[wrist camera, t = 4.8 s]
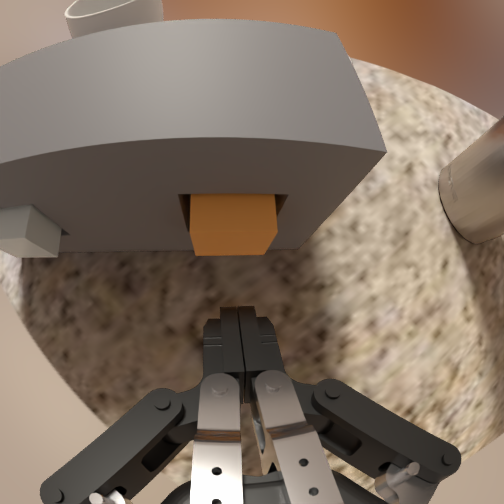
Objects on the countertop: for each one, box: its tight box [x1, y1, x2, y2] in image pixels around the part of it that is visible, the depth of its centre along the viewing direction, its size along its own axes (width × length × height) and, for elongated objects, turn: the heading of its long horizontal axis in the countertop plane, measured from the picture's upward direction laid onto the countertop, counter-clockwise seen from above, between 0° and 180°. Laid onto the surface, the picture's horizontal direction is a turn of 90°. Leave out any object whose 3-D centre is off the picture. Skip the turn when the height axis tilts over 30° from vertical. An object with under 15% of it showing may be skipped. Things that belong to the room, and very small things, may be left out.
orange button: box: [190, 193, 278, 256], centre depth 14 cm, size 4×4×4 cm
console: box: [0, 19, 387, 252], centre depth 14 cm, size 22×8×12 cm, turn 93°
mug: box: [65, 0, 163, 39], centre depth 17 cm, size 10×7×12 cm, turn 164°
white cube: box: [0, 204, 62, 258], centre depth 12 cm, size 4×4×4 cm
